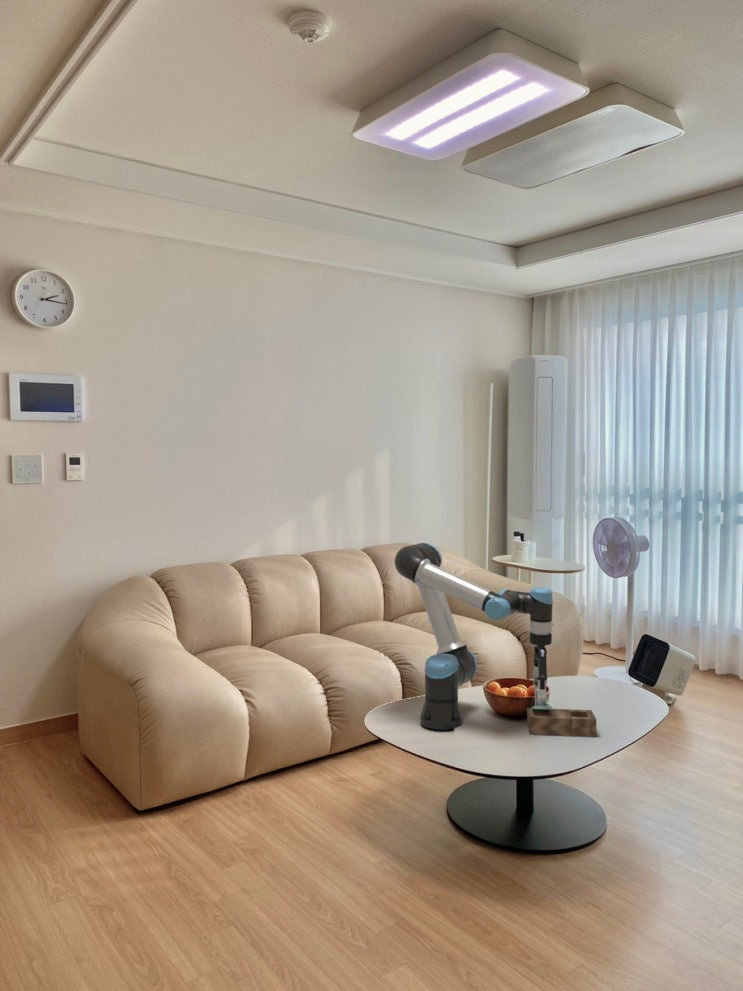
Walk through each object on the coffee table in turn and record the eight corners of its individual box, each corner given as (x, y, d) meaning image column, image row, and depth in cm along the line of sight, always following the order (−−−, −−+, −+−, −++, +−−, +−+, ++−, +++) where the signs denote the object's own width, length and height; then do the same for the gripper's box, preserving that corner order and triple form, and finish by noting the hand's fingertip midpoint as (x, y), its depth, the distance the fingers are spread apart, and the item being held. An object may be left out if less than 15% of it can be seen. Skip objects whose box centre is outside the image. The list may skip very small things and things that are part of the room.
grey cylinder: (535, 706, 275) (534, 677, 280) (533, 709, 279) (532, 681, 284) (549, 707, 274) (547, 678, 279) (546, 710, 279) (545, 682, 284)
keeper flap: (531, 709, 275) (533, 708, 268) (531, 706, 276) (533, 705, 269) (550, 710, 275) (552, 709, 268) (550, 707, 275) (552, 706, 268)
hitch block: (529, 734, 268) (529, 717, 267) (527, 724, 277) (527, 708, 277) (596, 737, 265) (596, 719, 265) (591, 727, 275) (591, 710, 275)
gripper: (556, 642, 262) (555, 704, 264) (547, 623, 287) (546, 680, 289) (533, 641, 263) (532, 703, 265) (526, 622, 288) (525, 679, 290)
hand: (539, 691), depth 277 cm, fingers open, 13 cm apart
